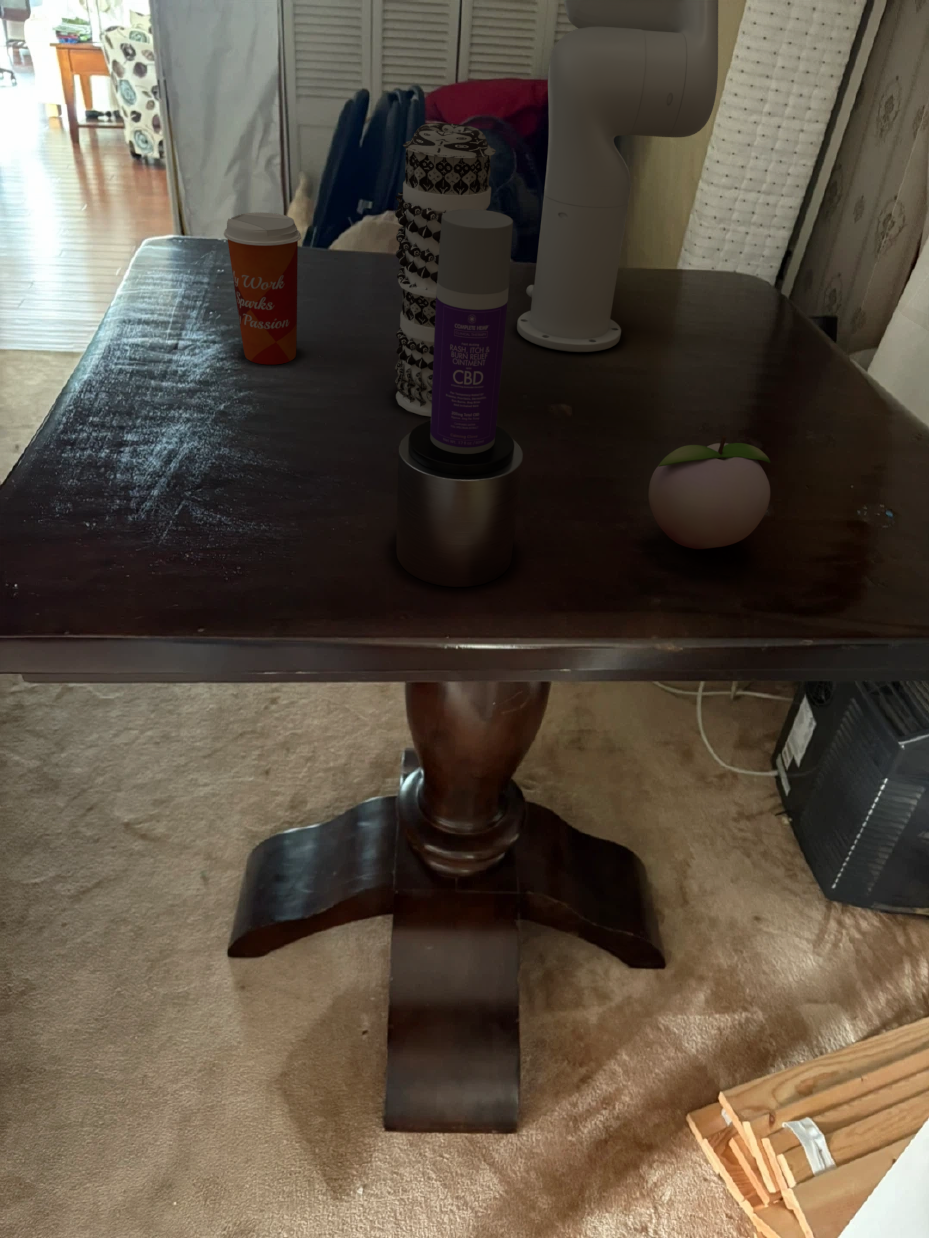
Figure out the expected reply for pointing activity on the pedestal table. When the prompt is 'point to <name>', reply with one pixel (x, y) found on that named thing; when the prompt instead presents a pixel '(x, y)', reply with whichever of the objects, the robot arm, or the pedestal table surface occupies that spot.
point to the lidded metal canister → (456, 509)
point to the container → (469, 328)
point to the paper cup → (265, 284)
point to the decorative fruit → (710, 494)
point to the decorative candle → (431, 240)
